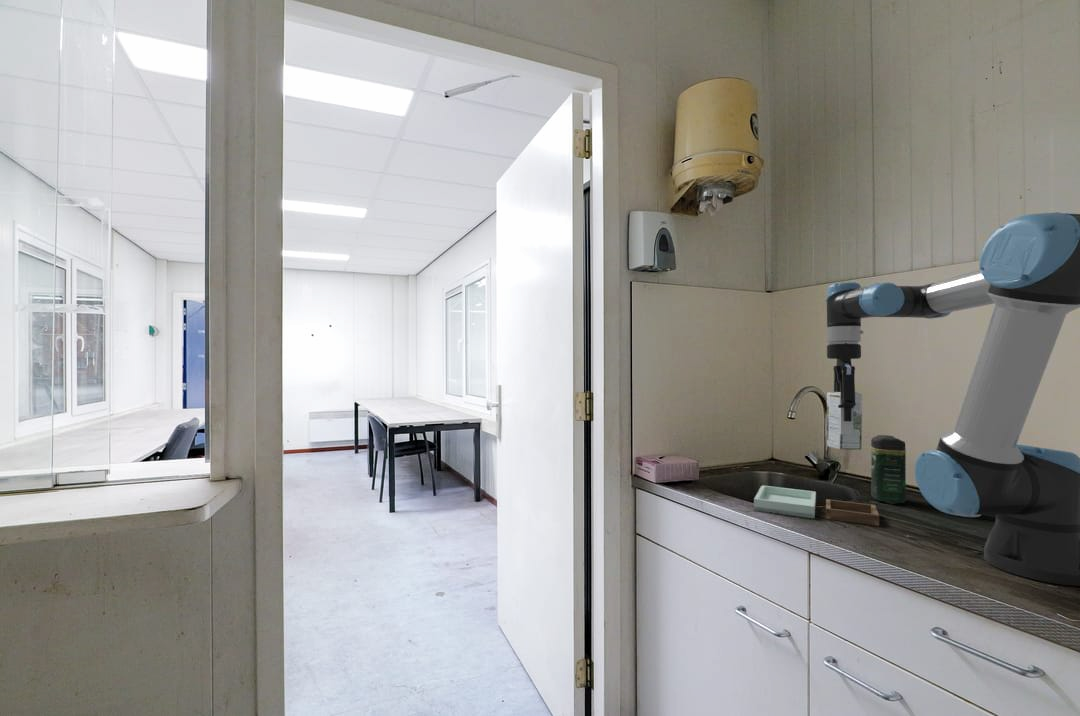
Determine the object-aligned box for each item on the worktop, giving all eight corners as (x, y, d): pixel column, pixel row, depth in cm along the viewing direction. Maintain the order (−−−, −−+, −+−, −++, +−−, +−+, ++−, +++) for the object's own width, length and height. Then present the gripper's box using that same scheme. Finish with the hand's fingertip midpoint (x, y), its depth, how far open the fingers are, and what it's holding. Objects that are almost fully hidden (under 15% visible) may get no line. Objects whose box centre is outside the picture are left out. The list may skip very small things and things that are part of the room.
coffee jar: (909, 506, 136) (908, 438, 136) (875, 502, 139) (874, 436, 139) (900, 497, 144) (900, 434, 145) (868, 494, 148) (868, 432, 148)
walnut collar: (879, 526, 118) (879, 515, 118) (826, 518, 123) (826, 508, 123) (875, 514, 127) (875, 504, 127) (826, 508, 133) (826, 499, 133)
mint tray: (814, 518, 123) (814, 506, 123) (754, 510, 130) (754, 498, 130) (815, 502, 139) (815, 491, 139) (761, 495, 146) (761, 485, 146)
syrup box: (847, 446, 130) (847, 391, 130) (862, 450, 124) (862, 392, 124) (826, 446, 129) (825, 391, 130) (840, 450, 124) (840, 392, 124)
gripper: (870, 341, 116) (870, 438, 116) (852, 345, 135) (852, 428, 135) (833, 341, 119) (833, 436, 119) (821, 345, 138) (821, 427, 137)
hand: (843, 432), depth 127 cm, fingers closed on syrup box, 7 cm apart
